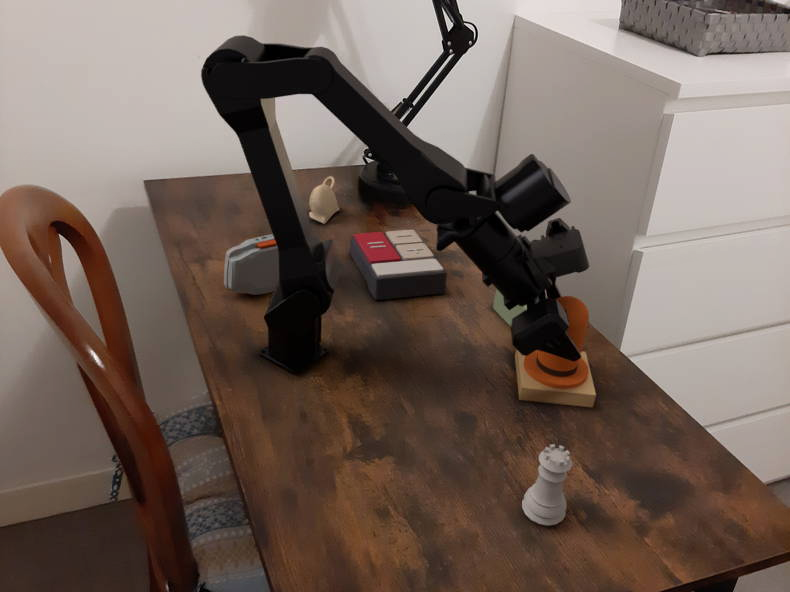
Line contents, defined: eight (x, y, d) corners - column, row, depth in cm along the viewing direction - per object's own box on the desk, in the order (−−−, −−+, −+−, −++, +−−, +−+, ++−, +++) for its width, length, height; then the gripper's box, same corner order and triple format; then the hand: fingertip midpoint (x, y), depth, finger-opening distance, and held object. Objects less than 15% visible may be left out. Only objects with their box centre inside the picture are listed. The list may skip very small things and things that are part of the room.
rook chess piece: (559, 495, 79) (574, 438, 75) (569, 529, 75) (585, 470, 71) (517, 494, 79) (530, 436, 75) (525, 527, 75) (539, 469, 71)
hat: (526, 385, 92) (540, 313, 86) (521, 347, 98) (534, 278, 93) (592, 391, 91) (611, 321, 86) (582, 353, 98) (599, 285, 93)
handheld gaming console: (312, 271, 115) (312, 223, 111) (321, 279, 113) (322, 231, 109) (222, 294, 108) (220, 244, 104) (231, 303, 106) (228, 253, 102)
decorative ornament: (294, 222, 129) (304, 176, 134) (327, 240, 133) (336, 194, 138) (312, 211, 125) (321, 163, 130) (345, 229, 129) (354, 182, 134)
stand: (519, 400, 92) (521, 387, 91) (514, 356, 100) (517, 344, 99) (592, 407, 92) (596, 395, 91) (582, 363, 100) (585, 351, 99)
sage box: (525, 342, 103) (531, 314, 101) (492, 308, 110) (497, 281, 107) (556, 336, 105) (562, 308, 102) (521, 302, 112) (526, 276, 109)
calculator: (415, 226, 122) (448, 267, 110) (413, 250, 124) (445, 293, 112) (349, 231, 119) (376, 274, 107) (348, 256, 121) (374, 300, 109)
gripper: (564, 250, 76) (648, 350, 81) (546, 178, 92) (617, 266, 97) (476, 308, 80) (561, 400, 86) (473, 230, 96) (545, 311, 102)
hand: (573, 339), depth 92 cm, fingers open, 8 cm apart
